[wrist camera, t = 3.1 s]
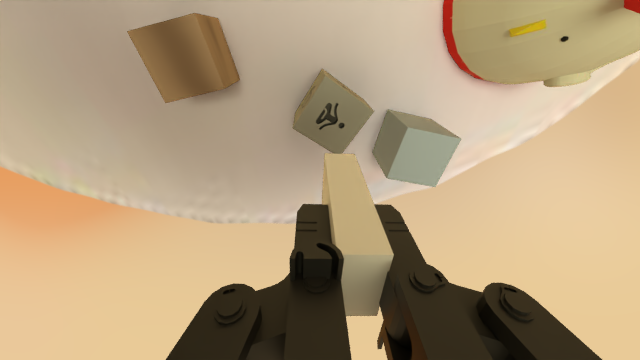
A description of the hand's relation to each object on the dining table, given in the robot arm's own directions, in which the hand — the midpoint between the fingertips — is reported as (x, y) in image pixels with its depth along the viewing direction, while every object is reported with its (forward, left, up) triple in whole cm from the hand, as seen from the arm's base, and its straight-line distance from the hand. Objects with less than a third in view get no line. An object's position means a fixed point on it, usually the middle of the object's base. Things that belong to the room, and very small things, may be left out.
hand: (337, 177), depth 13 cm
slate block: (+9, -3, -14) cm, 17 cm away
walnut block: (-11, +4, -14) cm, 19 cm away
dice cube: (+1, 0, -15) cm, 15 cm away
